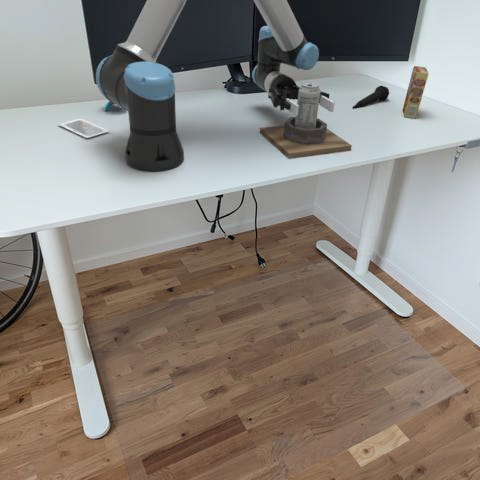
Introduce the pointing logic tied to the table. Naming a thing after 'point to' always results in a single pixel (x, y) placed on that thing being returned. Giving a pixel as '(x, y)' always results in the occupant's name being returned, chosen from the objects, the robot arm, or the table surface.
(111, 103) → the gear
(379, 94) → the microphone
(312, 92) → the energy drink can
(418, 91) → the candy box
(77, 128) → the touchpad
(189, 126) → the table surface
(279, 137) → the can dock
